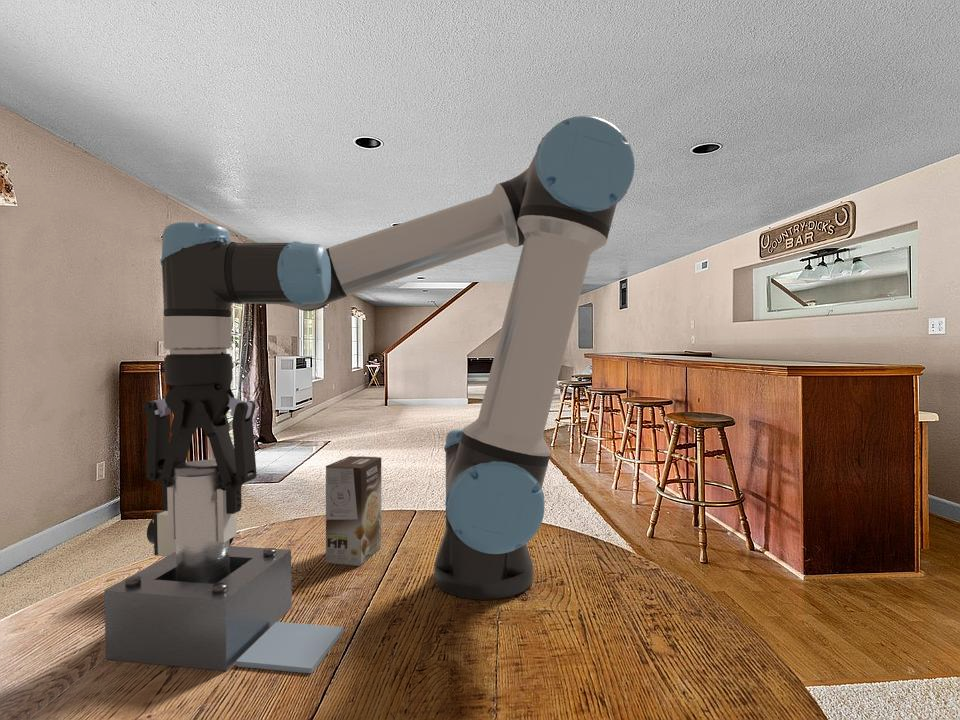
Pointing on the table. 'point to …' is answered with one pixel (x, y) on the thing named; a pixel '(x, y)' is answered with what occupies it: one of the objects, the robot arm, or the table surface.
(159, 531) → the pneumatic valve
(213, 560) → the metal cylinder
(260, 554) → the housing
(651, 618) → the table surface
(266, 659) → the pad
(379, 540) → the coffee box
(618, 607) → the table surface
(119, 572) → the table surface
